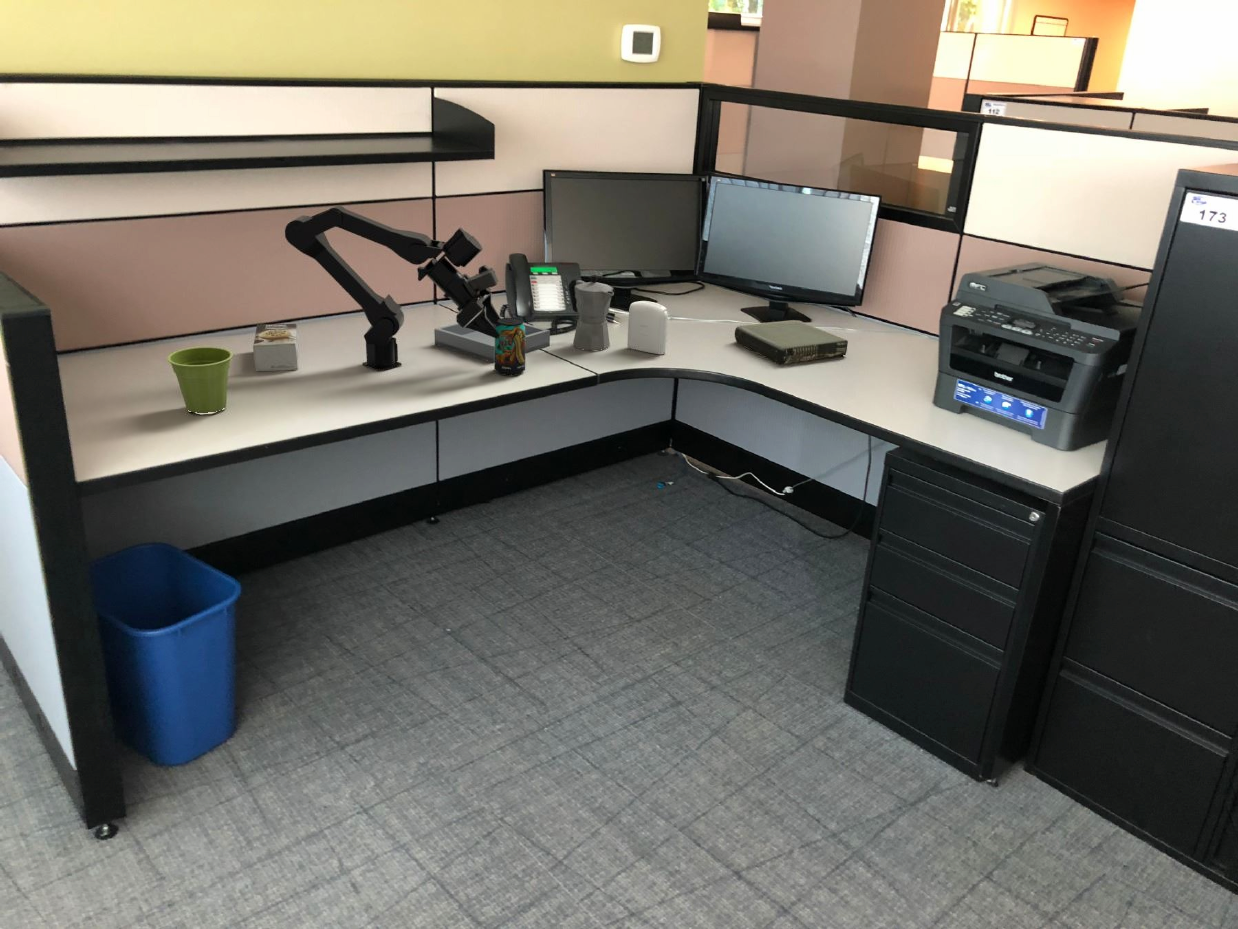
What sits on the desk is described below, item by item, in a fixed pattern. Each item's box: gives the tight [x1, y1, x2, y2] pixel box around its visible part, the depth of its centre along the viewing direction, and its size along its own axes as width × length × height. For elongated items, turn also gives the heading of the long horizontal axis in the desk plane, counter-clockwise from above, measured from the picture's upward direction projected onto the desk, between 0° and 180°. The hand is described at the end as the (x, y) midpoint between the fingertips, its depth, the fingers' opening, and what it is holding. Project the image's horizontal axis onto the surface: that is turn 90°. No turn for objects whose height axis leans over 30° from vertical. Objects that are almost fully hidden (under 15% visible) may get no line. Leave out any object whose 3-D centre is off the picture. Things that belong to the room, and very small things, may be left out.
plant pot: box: [166, 346, 234, 413], centre depth 199 cm, size 12×12×11 cm
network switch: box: [734, 319, 849, 366], centre depth 260 cm, size 23×23×5 cm
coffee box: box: [252, 323, 300, 372], centre depth 230 cm, size 9×6×16 cm
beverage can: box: [493, 317, 526, 376], centre depth 230 cm, size 7×7×12 cm
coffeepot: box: [568, 274, 615, 352], centre depth 252 cm, size 15×9×18 cm, turn 45°
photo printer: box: [626, 300, 669, 355], centre depth 251 cm, size 10×4×12 cm, turn 60°
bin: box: [434, 316, 551, 364], centre depth 250 cm, size 20×20×4 cm
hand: (500, 331), depth 229 cm, fingers open, 9 cm apart
